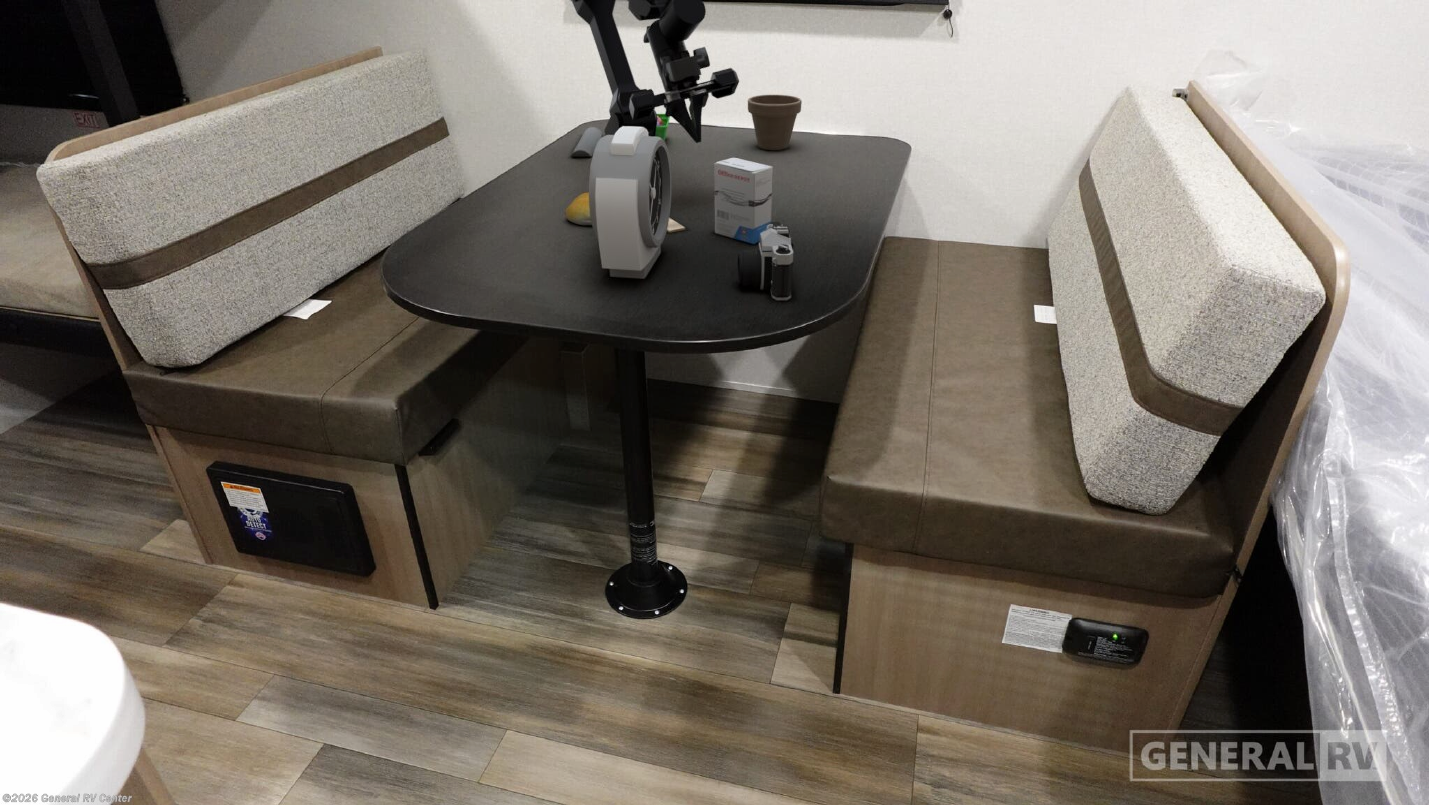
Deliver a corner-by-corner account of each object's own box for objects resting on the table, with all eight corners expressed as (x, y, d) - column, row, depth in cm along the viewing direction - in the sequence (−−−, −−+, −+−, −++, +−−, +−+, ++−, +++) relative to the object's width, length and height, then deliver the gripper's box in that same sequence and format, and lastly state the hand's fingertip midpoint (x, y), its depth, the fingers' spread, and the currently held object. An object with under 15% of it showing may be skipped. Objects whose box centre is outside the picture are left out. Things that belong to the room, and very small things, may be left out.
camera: (733, 266, 133) (733, 210, 128) (784, 264, 133) (786, 208, 128) (742, 309, 122) (743, 249, 117) (798, 306, 123) (801, 246, 118)
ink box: (772, 237, 144) (774, 165, 138) (753, 245, 140) (754, 171, 134) (732, 225, 149) (733, 155, 142) (713, 233, 145) (712, 161, 139)
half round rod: (570, 158, 184) (569, 149, 183) (583, 134, 201) (583, 126, 200) (590, 158, 184) (590, 149, 183) (602, 134, 201) (601, 126, 200)
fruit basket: (668, 150, 190) (666, 95, 184) (627, 150, 190) (624, 95, 184) (671, 136, 199) (669, 84, 194) (632, 136, 199) (629, 84, 194)
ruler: (628, 206, 158) (628, 203, 157) (643, 203, 159) (643, 201, 159) (669, 232, 146) (669, 230, 145) (685, 229, 147) (685, 227, 147)
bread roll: (561, 225, 149) (558, 202, 147) (577, 208, 157) (575, 186, 154) (608, 228, 148) (606, 205, 146) (622, 210, 155) (621, 188, 153)
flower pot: (765, 137, 198) (766, 90, 193) (809, 144, 193) (811, 97, 187) (736, 148, 190) (737, 100, 185) (781, 156, 185) (782, 107, 179)
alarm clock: (648, 289, 126) (642, 147, 115) (591, 285, 127) (579, 144, 117) (675, 244, 141) (671, 115, 130) (624, 241, 142) (616, 113, 132)
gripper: (620, 47, 141) (650, 140, 141) (729, 19, 144) (758, 110, 144) (618, 75, 152) (645, 161, 152) (719, 49, 155) (746, 133, 155)
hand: (698, 141), depth 151 cm, fingers closed
